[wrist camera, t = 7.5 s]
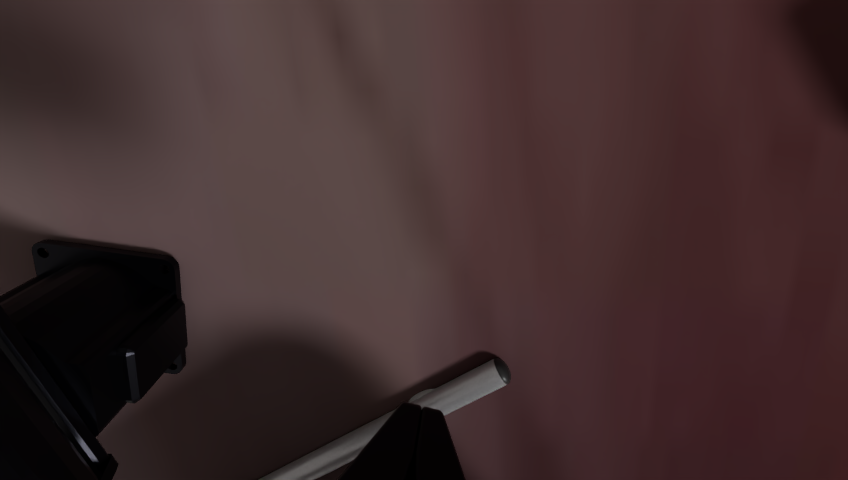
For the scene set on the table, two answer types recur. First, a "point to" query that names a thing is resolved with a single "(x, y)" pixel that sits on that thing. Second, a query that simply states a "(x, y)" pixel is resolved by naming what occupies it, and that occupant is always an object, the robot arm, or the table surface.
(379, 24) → the table surface
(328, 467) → the monitor stand
